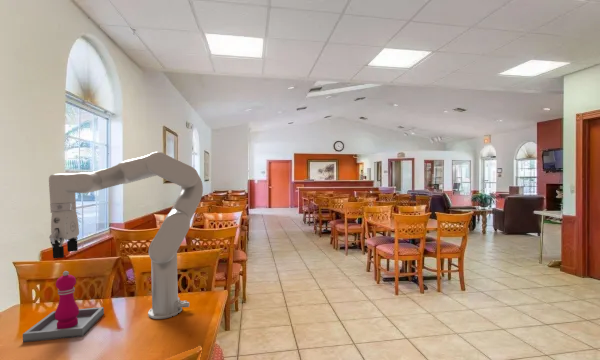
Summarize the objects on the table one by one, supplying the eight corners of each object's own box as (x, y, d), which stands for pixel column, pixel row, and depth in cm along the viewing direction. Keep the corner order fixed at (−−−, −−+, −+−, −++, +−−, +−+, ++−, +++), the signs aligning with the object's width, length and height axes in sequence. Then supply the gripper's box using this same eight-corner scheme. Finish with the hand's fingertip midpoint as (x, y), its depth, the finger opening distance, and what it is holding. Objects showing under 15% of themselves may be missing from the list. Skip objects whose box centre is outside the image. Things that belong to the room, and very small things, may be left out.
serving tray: (103, 313, 129) (103, 307, 129) (82, 336, 111) (82, 328, 111) (53, 318, 126) (52, 311, 126) (22, 342, 108) (22, 334, 108)
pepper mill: (66, 330, 114) (65, 274, 114) (49, 329, 116) (48, 273, 115) (84, 321, 121) (82, 268, 121) (68, 320, 123) (66, 267, 122)
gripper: (62, 209, 110) (65, 259, 110) (85, 204, 127) (88, 248, 127) (37, 211, 108) (40, 261, 109) (64, 205, 125) (66, 249, 126)
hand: (65, 254), depth 118 cm, fingers open, 9 cm apart
